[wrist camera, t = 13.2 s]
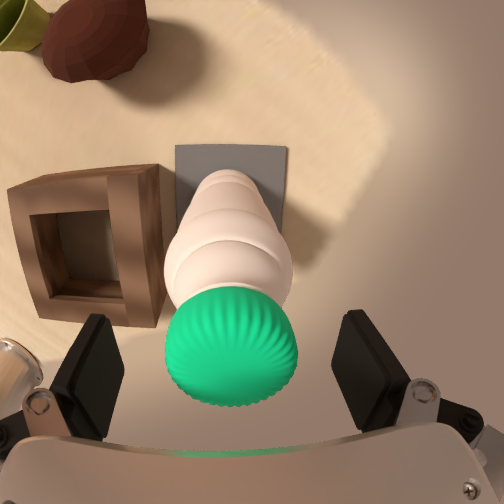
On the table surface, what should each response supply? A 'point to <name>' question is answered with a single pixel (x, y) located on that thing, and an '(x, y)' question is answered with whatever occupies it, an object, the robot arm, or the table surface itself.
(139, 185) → the slot box
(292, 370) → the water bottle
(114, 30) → the muffin
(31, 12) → the plant pot
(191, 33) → the table surface
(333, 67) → the table surface
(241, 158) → the mat
